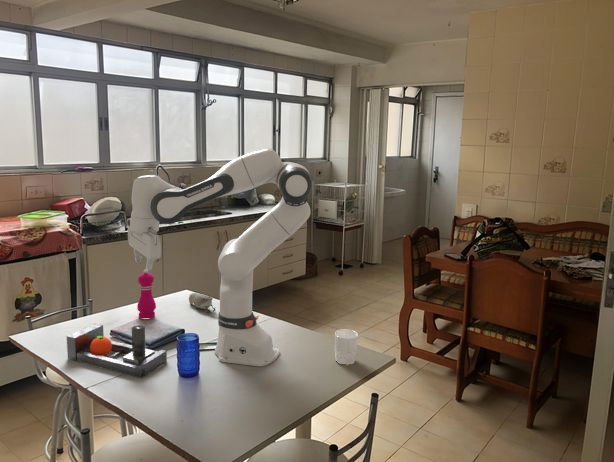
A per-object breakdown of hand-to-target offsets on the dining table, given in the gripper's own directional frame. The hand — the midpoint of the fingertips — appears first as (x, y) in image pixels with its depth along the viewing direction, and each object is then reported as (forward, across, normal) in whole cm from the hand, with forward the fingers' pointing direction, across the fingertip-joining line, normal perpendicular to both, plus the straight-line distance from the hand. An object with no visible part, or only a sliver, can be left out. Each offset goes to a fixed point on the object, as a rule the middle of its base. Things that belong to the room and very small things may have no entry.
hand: (143, 265), depth 166 cm
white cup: (+27, -43, -55) cm, 75 cm away
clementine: (+32, +5, +12) cm, 34 cm away
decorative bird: (+31, +28, -37) cm, 56 cm away
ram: (+31, -9, +4) cm, 32 cm away
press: (+31, -1, +8) cm, 32 cm away
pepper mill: (+32, +31, -14) cm, 47 cm away
